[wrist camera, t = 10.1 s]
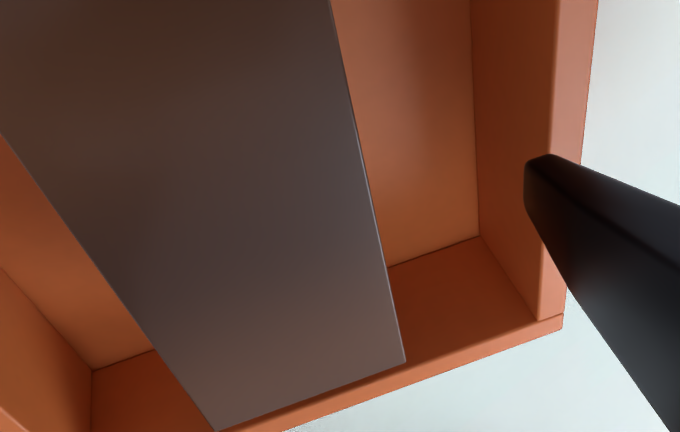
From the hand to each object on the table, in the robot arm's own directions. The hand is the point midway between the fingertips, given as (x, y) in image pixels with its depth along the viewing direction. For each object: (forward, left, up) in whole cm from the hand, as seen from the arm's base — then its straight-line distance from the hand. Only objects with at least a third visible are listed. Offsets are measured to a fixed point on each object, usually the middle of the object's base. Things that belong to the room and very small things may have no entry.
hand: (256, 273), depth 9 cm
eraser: (0, 0, -5) cm, 5 cm away
